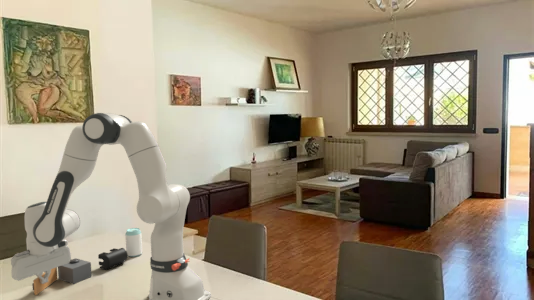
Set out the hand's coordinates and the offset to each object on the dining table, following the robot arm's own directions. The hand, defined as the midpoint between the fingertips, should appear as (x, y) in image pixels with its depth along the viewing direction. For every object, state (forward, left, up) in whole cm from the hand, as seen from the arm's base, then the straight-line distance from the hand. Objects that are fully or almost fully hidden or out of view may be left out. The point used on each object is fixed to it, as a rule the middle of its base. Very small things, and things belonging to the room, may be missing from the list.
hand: (44, 282), depth 146 cm
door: (+4, -3, -3) cm, 6 cm away
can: (+2, -43, -4) cm, 44 cm away
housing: (+2, -13, -4) cm, 14 cm away
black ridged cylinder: (-1, -29, -4) cm, 30 cm away
